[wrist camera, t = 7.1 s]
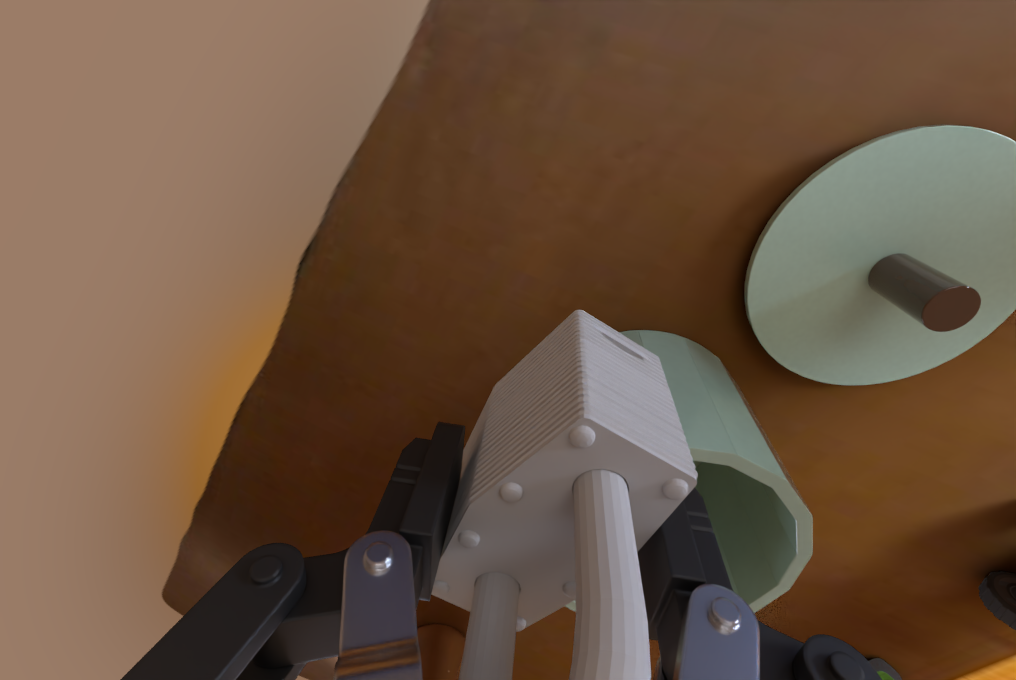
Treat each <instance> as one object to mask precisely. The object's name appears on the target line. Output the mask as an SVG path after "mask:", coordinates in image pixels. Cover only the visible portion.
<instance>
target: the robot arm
mask: <svg viewBox="0 0 1016 680" xmlns="http://www.w3.org/2000/svg"><path fill="white" fill-rule="evenodd" d="M464 435H465V426H463V425H456V424H450V423H443V422H438V424H437V426H436V429H435V431H434V434H433V437H432V440H427V439H421V438H415V439H414V440H413V441H412V442H411V443H410V444H409V445H407V446H406V447H405V448H404V449H403V450H402V453H401V455H400V457H399V460H398V462H397V464H396V468H395V469H394V471H393V474H392V476H391V480H390V481H389V483H388V485H387V488H386V490H385V492H384V495H383V497H382V499H381V502H380V504H379V506H378V509H377V511H376V513H375V516H374V518H373V521H372V523H371V525H370V527H369V529H368V531H367V533H366V534H365V535H364V536H362V537H360V538H359V539H357V540H356V541H355V542H354V543H353V544H352V545H351V547H350V548H348V549H346V550H343V551H340V552H337V553H333V554H327V555H320V556H313V557H306V558H303V557H302V554H301V553H300V551H299V550H298V549H296V548H295V547H293V546H292V545H289V544H284V543H272V544H267V545H263V546H260V547H258V548H256V549H254V550H252V551H250V552H249V553H247V554H246V555H244V556H243V557H242V558H241V559H240V560H239V561H238V562H237V563H236V564H235V565H234V566H233V567H232V568H231V569H230V570H229V571H228V572H227V573H226V574H225V575H224V576H223V577H222V578H221V579H220V580H219V581H218V582H217V583H216V584H215V585H214V586H213V587H212V588H211V589H210V590H209V591H208V592H207V593H206V594H205V595H204V596H203V597H202V598H201V599H200V600H199V601H198V602H197V603H196V604H195V605H194V606H193V607H192V608H191V609H190V610H189V611H188V612H187V613H186V614H185V615H184V616H183V618H181V620H179V621H178V622H177V623H176V625H174V626H173V627H172V628H171V629H170V630H169V631H168V632H167V634H165V635H164V637H163V638H162V639H161V640H160V641H159V642H158V643H157V644H156V645H155V646H154V647H153V648H152V649H151V650H150V651H149V652H148V653H147V654H146V655H145V656H144V657H143V658H142V659H141V660H140V661H139V662H138V663H137V664H136V665H135V666H134V667H133V668H132V669H131V670H130V671H129V672H128V673H127V674H126V675H125V676H124V677H123V678H122V679H121V680H295V679H296V678H297V676H298V675H299V674H300V672H301V671H302V669H303V668H304V666H305V665H306V664H307V662H310V661H315V660H321V659H326V658H331V657H336V656H338V661H337V662H336V665H335V671H334V680H423V678H422V664H421V654H420V647H419V645H418V634H417V620H416V608H417V605H418V601H419V600H425V601H430V597H431V593H432V589H433V585H434V582H435V578H436V574H437V570H438V566H439V562H440V558H441V554H442V549H443V546H444V541H445V538H446V534H447V530H448V526H449V523H450V519H451V514H452V511H453V507H454V503H455V499H456V494H457V491H458V487H459V482H460V477H461V470H462V459H463V447H464ZM637 554H638V561H639V567H640V574H641V581H642V587H643V594H644V600H645V607H646V614H647V620H648V634H649V639H652V640H658V643H659V649H660V657H659V659H658V661H657V664H656V667H655V673H654V678H653V680H882V679H881V677H880V676H879V675H878V673H877V672H876V670H875V669H874V668H873V666H872V665H871V664H870V663H869V661H868V660H867V659H866V658H865V657H864V656H863V655H862V654H860V653H859V652H858V651H857V650H856V649H855V648H853V647H852V646H850V645H849V644H847V643H846V642H844V641H842V640H840V639H838V638H835V637H832V636H829V635H814V636H812V637H810V638H809V639H808V640H807V641H806V642H805V643H802V642H800V641H797V640H795V639H793V638H791V637H789V636H787V635H785V634H782V633H780V632H778V631H776V630H774V629H772V628H770V627H768V626H766V625H764V624H763V623H761V622H760V621H758V620H757V618H756V616H755V614H754V612H753V611H752V609H751V608H750V606H749V605H748V604H747V603H746V602H745V601H744V600H743V599H742V598H741V597H740V596H739V595H738V594H736V593H735V592H734V591H733V589H732V586H731V583H730V580H729V577H728V574H727V571H726V568H725V565H724V562H723V559H722V555H721V552H720V549H719V546H718V543H717V540H716V537H715V534H714V533H713V528H712V525H711V521H710V519H709V518H708V512H707V509H706V506H705V503H704V500H703V497H702V496H701V495H700V493H699V492H698V491H697V489H696V488H695V487H694V489H693V490H692V491H691V492H690V493H689V494H688V495H687V497H686V498H685V499H684V500H683V501H682V502H681V503H680V504H679V506H678V507H677V508H676V509H675V510H674V511H673V512H672V514H671V515H670V516H669V517H668V518H667V519H666V520H665V521H664V523H663V524H662V525H661V526H660V527H659V528H658V529H657V531H656V532H655V533H654V534H653V535H652V536H651V537H650V538H649V540H648V541H647V542H646V543H645V544H644V545H643V546H642V548H641V549H640V550H639V551H638V552H637Z"/></svg>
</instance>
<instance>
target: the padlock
mask: <svg viewBox="0 0 1016 680" xmlns="http://www.w3.org/2000/svg"><path fill="white" fill-rule="evenodd" d="M679 420H680V419H679V417H678V413H677V411H676V407H675V406H674V401H673V398H672V396H671V392H670V389H669V387H668V383H667V382H666V378H665V374H664V371H663V369H662V365H661V362H660V359H659V357H658V356H656V355H655V354H653V353H651V352H650V351H648V350H647V349H645V348H643V347H642V346H640V345H638V344H637V343H635V342H634V341H632V340H630V339H629V338H627V337H625V336H624V335H622V334H621V333H619V332H617V331H616V330H614V329H612V328H611V327H609V326H607V325H606V324H604V323H603V322H601V321H599V320H598V319H596V318H594V317H593V316H591V315H590V314H588V313H586V312H585V311H583V310H576V311H574V312H573V313H572V314H571V315H570V316H569V317H567V318H566V319H565V320H564V321H563V322H562V323H561V324H560V325H559V326H558V327H557V328H556V329H555V330H553V331H552V332H551V333H550V334H549V335H548V336H547V337H546V338H545V339H544V340H543V341H542V342H541V343H539V344H538V345H537V346H536V347H535V348H534V349H533V350H532V351H531V352H530V353H529V354H528V355H527V356H525V357H524V358H523V359H522V360H521V361H520V362H519V363H518V364H517V365H516V366H515V367H514V368H513V369H512V370H510V371H509V372H508V373H507V374H506V375H505V376H504V377H503V378H502V379H501V380H500V381H499V382H498V383H496V385H495V386H494V388H493V390H492V392H491V394H490V396H489V398H488V400H487V402H486V404H485V406H484V409H483V411H482V413H481V415H480V417H479V419H478V421H477V423H476V425H475V427H474V429H473V431H472V433H471V436H470V438H469V440H468V442H467V444H466V446H465V448H464V450H463V459H462V470H461V477H460V482H459V487H458V491H457V494H456V499H455V503H454V507H453V511H452V514H451V519H450V523H449V526H448V530H447V534H446V538H445V541H444V546H443V549H442V554H441V558H440V562H439V566H438V570H437V574H436V578H435V582H434V585H433V589H432V593H431V594H432V595H434V596H436V597H439V598H441V599H443V600H445V601H447V602H450V603H452V604H454V605H456V606H458V607H461V608H463V609H465V610H467V611H469V612H470V618H469V624H468V630H467V635H466V641H465V647H464V653H463V658H462V664H461V670H460V676H459V680H512V671H513V660H514V648H515V637H516V632H517V631H521V630H523V629H524V628H526V627H528V626H530V625H531V624H533V623H535V622H537V621H538V620H540V619H542V618H544V617H546V616H547V615H549V614H551V613H553V612H555V611H556V610H558V609H560V608H562V607H564V606H565V605H567V604H569V603H571V602H573V601H574V600H576V624H575V635H574V647H573V658H572V666H571V671H570V677H569V680H651V665H650V650H649V634H648V620H647V614H646V607H645V600H644V594H643V587H642V581H641V574H640V567H639V561H638V554H637V552H638V551H639V550H640V549H641V548H642V546H643V545H644V544H645V543H646V542H647V541H648V540H649V538H650V537H651V536H652V535H653V534H654V533H655V532H656V531H657V529H658V528H659V527H660V526H661V525H662V524H663V523H664V521H665V520H666V519H667V518H668V517H669V516H670V515H671V514H672V512H673V511H674V510H675V509H676V508H677V507H678V506H679V504H680V503H681V502H682V501H683V500H684V499H685V498H686V497H687V495H688V494H689V493H690V492H691V491H692V490H693V489H694V487H695V486H696V484H697V480H696V479H697V477H698V473H697V471H696V470H695V465H694V463H693V458H692V456H691V455H690V450H689V448H688V444H687V442H686V437H685V435H684V431H683V430H682V425H681V423H680V422H679Z"/></svg>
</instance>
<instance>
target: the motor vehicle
mask: <svg viewBox="0 0 1016 680" xmlns="http://www.w3.org/2000/svg"><path fill="white" fill-rule="evenodd" d="M978 589H979V596H980V599H982V601H983V602H984V605H985V606H986V608H987V609H988V610H990V611H991V612H992V613H993V614H994V616H995V617H997V618H998V619H999V620H1002V621H1003V622H1004V623H1006V624H1007V625H1009V627H1011V628H1013V629H1014V630H1016V574H1015V573H1008V572H1006V571H999V572H996V571H994V572H991V573H990V574H989V575H988V576H986V577H985V579H984V580H983V581H982V583H981V584H980V586H979V588H978Z"/></svg>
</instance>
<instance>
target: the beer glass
mask: <svg viewBox="0 0 1016 680" xmlns="http://www.w3.org/2000/svg"><path fill="white" fill-rule="evenodd" d="M417 634H418V645H419V647H420V654H421V664H422V678H423V680H457V675H458V670H459V667H460V663H461V660H462V657H463V653H464V647H465V641H466V639H465V637H464V636H463V635H462V634H461V633H460V632H459V631H458V630H456V629H454V628H452V627H450V626H446V625H442V624H427V625H423V626H421V627H419V628H418V629H417Z"/></svg>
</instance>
